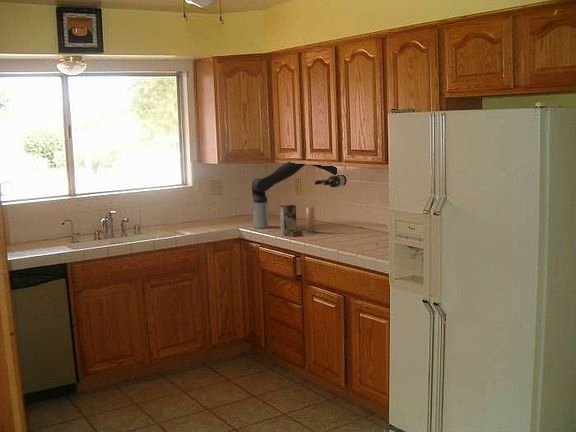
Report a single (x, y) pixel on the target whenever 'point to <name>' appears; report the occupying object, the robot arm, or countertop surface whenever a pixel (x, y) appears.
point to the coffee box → (288, 217)
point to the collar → (292, 232)
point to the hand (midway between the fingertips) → (319, 183)
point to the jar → (310, 219)
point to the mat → (311, 233)
